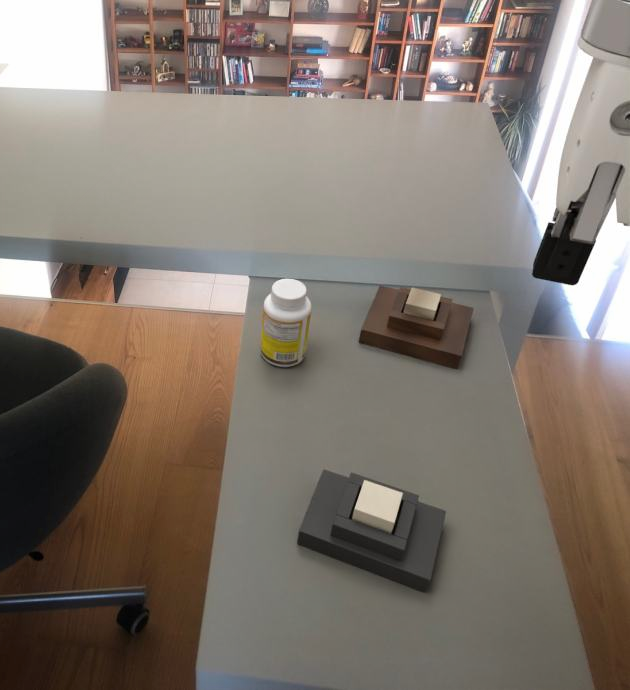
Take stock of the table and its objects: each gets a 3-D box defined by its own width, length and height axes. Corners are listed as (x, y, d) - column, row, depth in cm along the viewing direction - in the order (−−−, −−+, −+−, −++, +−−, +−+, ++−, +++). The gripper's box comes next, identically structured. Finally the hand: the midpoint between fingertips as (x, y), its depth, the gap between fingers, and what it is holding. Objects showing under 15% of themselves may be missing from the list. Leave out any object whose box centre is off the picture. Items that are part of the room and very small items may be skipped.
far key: (438, 305, 87) (441, 294, 86) (432, 321, 85) (436, 310, 83) (409, 298, 88) (411, 287, 87) (403, 314, 86) (405, 303, 85)
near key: (399, 503, 65) (403, 492, 64) (391, 534, 62) (394, 523, 61) (361, 490, 66) (364, 479, 65) (351, 520, 64) (354, 508, 63)
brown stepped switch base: (469, 321, 90) (477, 296, 87) (457, 369, 83) (465, 344, 81) (377, 298, 94) (382, 274, 91) (358, 342, 87) (363, 317, 85)
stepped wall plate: (441, 523, 67) (450, 499, 65) (425, 593, 62) (435, 569, 59) (320, 482, 71) (325, 457, 69) (296, 543, 66) (300, 519, 63)
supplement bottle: (284, 333, 89) (291, 268, 82) (314, 357, 86) (324, 291, 79) (250, 350, 87) (255, 285, 80) (280, 375, 83) (287, 309, 76)
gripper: (747, 75, 35) (608, 347, 47) (714, -4, 45) (607, 237, 57) (583, 58, 38) (491, 321, 50) (587, -13, 48) (510, 220, 60)
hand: (553, 275), depth 53 cm, fingers closed
